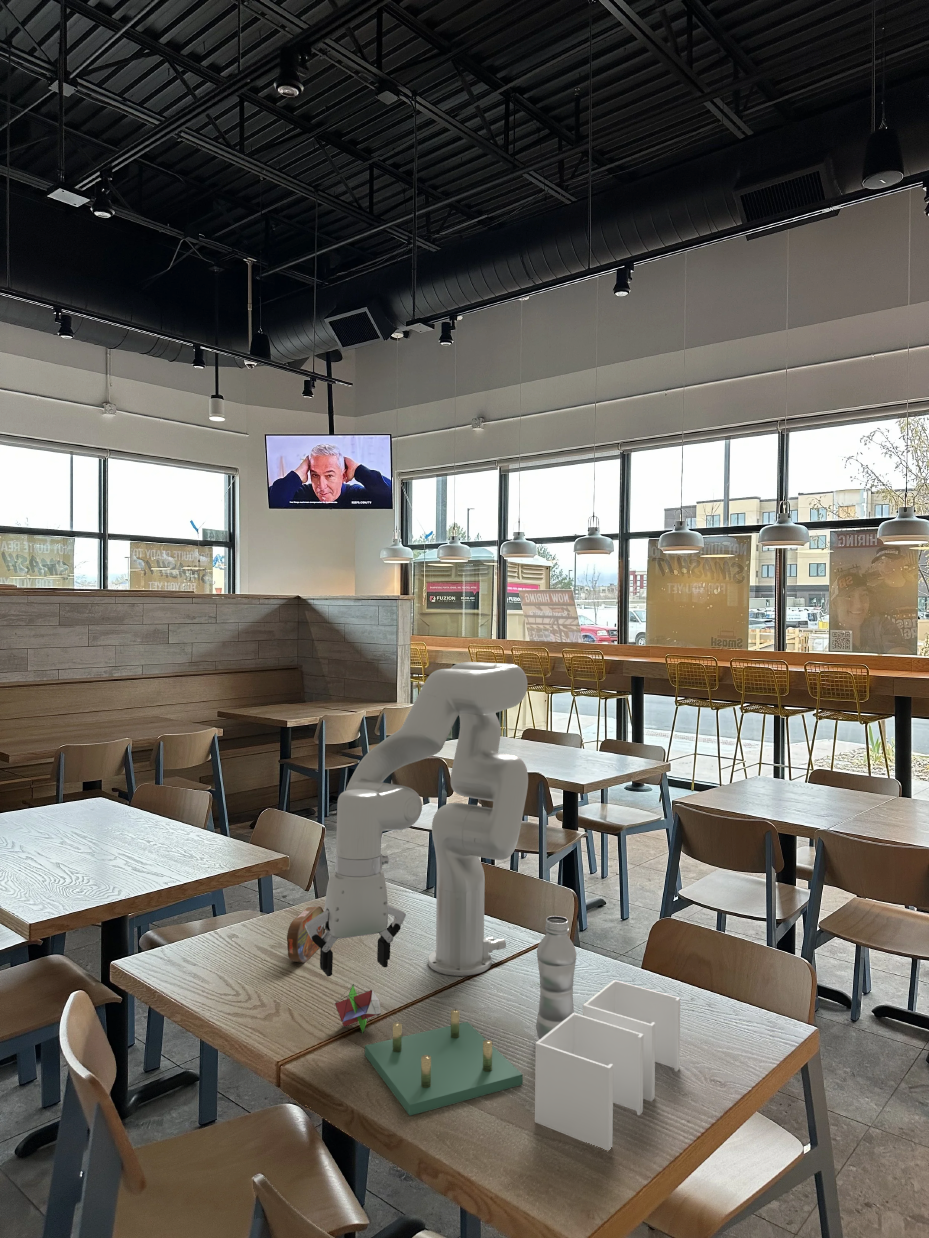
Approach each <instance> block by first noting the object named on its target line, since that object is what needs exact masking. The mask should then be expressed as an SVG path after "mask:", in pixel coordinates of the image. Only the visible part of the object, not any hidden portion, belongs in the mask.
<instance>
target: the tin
mask: <svg viewBox="0 0 929 1238" xmlns="http://www.w3.org/2000/svg"><path fill="white" fill-rule="evenodd" d="M323 912H324V908H323V907H322V906H319V905H318V906H308V907H306V908H305V909H304V910H303V911H302V912H300V914H298V915H297V916H296V917H295V918H294V919H293V920H292V921H291V922H290V925H289V927H288V930H287V933H286V935H287V936H286V941H287V942H286V943H287V946H286V947H287V956H288V958H289V960H290V961H291V962H295V963H303V964H304V963H306V962H308V961H309V960H310V958H311V957H312V956H313V955H314V954H315V953H316V952H317V951H318V950H319V949H320V947H319V946H317V945H316V944H315V943H314V942H313V941H312V939H311V938H310V936H309V934H308V932H307V930H306V928H305V924H306V923H307V922H309V921H310V920H312V919H313V918H315V917H316V916H318V915H320V914H321V913H323ZM325 932H326V930H325V929H324V925H323V924H322V925H321V926H319V927H318V928H317V933H318V935H319V936H320V937H322V936H323V935H324V933H325Z"/></svg>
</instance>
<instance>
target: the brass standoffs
mask: <svg viewBox="0 0 929 1238" xmlns="http://www.w3.org/2000/svg"><path fill="white" fill-rule="evenodd" d="M460 1012H461V1011H460V1010H459V1009H451V1010H450V1026H451V1038H459V1024H460V1021H461V1020H460V1014H461V1013H460ZM402 1028H403V1023H402V1022H400V1021H396V1022H393V1023H392V1039H393V1052H400V1051H401V1050H402V1037H403V1029H402ZM492 1046H493V1041H492V1040H490V1039H486V1040H485V1041H483V1070H484V1071H486V1072H490V1071H492ZM421 1086H422V1087H423V1088H429V1087H430V1086H431V1056H429V1055H423V1056H422V1057H421Z"/></svg>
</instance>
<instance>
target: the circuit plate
mask: <svg viewBox="0 0 929 1238" xmlns="http://www.w3.org/2000/svg"><path fill="white" fill-rule="evenodd" d="M485 1040H487V1039H486V1038H485V1037H484V1036H483V1035H482V1034H481V1033H480V1032H479V1031H478V1030H476V1028H475V1027H474V1026H473V1025H471V1024H470V1023H469V1022H468V1021H465V1022H459V1038H451V1025H447V1026H443V1027H439V1028H435V1029H429V1030H426V1031H421V1032H416V1033H413V1034H409V1035H404V1036H403V1035H402V1050H401V1051H400V1052H393V1038H391V1039H386V1040H382V1041H378V1042H377V1041H376V1042H373V1043H369V1044H365V1045H364V1056H365V1057H366V1059H367V1060H368V1062H369V1063H370V1064H371V1065H372V1067H373V1068H374V1070H375V1071H376V1072H377V1074H378V1075H379V1076H380V1078H381V1079H382V1081H383V1082H384V1083H385V1084H386V1085H387V1088H388V1089H389V1090H390V1091H391V1093H392V1094H393V1095H394V1096H395V1098H396V1100H397V1101H398V1102H399V1103H400V1105H401V1106H402V1107H403V1109H404V1110H405V1112H406V1113H407V1114H408V1116H414V1115H418V1114H422V1113H425V1112H428V1111H432V1110H436V1109H440V1108H444V1107H446V1106H450V1105H453V1104H457V1103H460V1102H464V1101H468V1100H472V1099H476V1098H479V1097H482V1096H485V1095H486V1096H487V1095H490V1094H493V1093H497V1092H500V1091H504V1090H508V1089H511V1088H515V1087H518V1086H522V1085H524V1084H523V1083H524V1082H523V1081H524V1080H523V1078H524V1077H523V1073H522V1072H521V1071H520V1070H519V1069H518V1068H517V1067H516V1066H515V1065H513V1064H512V1062H511V1061H509V1060H508V1059H507V1058H506V1057H505V1056H504V1055H503V1054H502V1053H501V1052H500V1051H499V1050H498V1049H497V1048H496V1047H494V1045H492V1071H490V1072H486V1071H484V1070H483V1041H485ZM423 1055H429V1056H431V1086H430V1087H429V1088H423V1087H422V1086H421V1057H422V1056H423Z"/></svg>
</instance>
